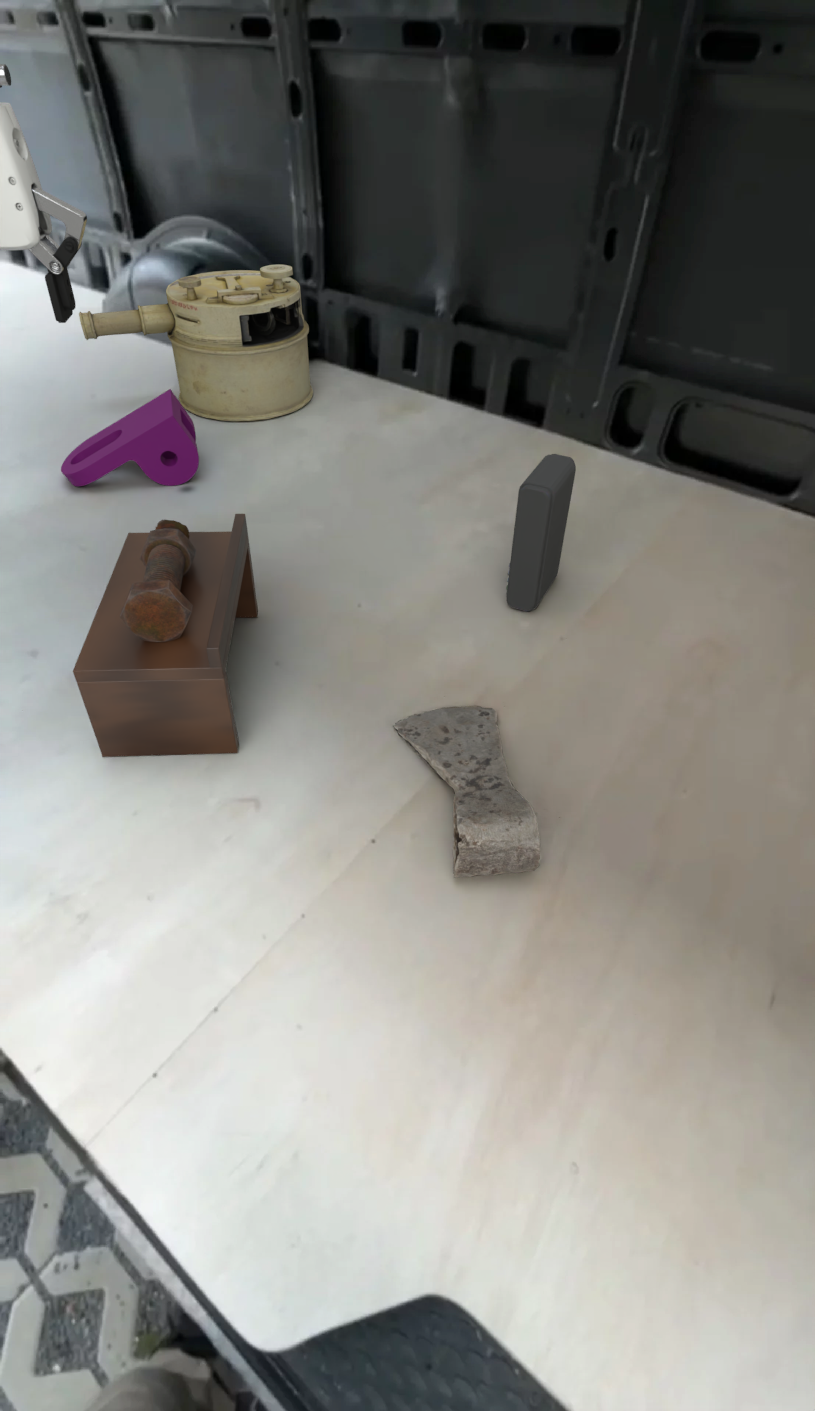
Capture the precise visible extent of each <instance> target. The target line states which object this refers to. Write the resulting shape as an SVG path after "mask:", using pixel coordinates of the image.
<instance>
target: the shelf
mask: <svg viewBox="0 0 815 1411" xmlns="http://www.w3.org/2000/svg"><path fill="white" fill-rule="evenodd" d="M232 522H233V523H232V527H231V531H189V534H188V535H190V536H189V540H190V542H191V543H192V544H193V546H194V547H195V549H196V553H195V557H194V560H193V562H192V564H191V567H190V569H189V571H188V573H187V575H186V576H185V577H183V578H182V584H181V589H180V592H181V593H182V594H183V595H184V596H185V597H186V599H187V600H188V601H189V602H190V603H191V604H192V605H193V606H192V612H191V615H190V618H189V620H188V622H187V625H186V627H185V629H184V631H183V633H182V635H181V636H180V638H178V639H175V640H171V641H166V642H150V641H144V640H143V639H141V638H139V637H138V636H136V635H135V634H134V633H133V632H132V631H131V630H130V629H129V628H128V627H127V626H126V625H125V623H124V622H123V621H122V619H121V618H120V614H121V610H122V608H123V605H124V603H125V600H126V598H127V596H128V593H129V591H130V588H131V586H132V584H133V582H143V580H144V576H145V570H146V566H145V565H144V564H143V562H142V561H141V560H140V556H141V552H142V550H143V547H144V544H145V542H146V539H147V537H148V535H149V533H150V532H128V534H127V535H126V537H125V541H124V543H123V545H122V548H121V550H120V553H119V556H118V558H117V560H116V563H115V564H114V568H113V570H112V573H111V575H110V576H109V579H108V582H107V585H106V587H105V590H104V593H103V595H102V597H101V600H100V603H99V605H98V607H97V610H96V613H95V615H94V617H93V620H92V622H91V625H90V627H89V630H88V632H87V635H86V637H85V640H84V642H83V645H82V647H81V649H80V652H79V654H78V656H77V660H76V661H75V664H74V667H73V670H72V673H73V676H74V679H75V682H76V684H77V687H78V690H79V693H80V696H81V699H82V701H83V704H84V707H85V711H86V713H87V716H88V719H89V722H90V725H91V727H92V730H93V733H94V736H95V740H96V742H97V744H98V747H99V748H98V749H99V751H100V754H101V757H102V758H105V757H106V758H113V757H114V758H115V757H147V756H149V757H150V756H184V755H185V756H186V755H187V756H189V755H190V756H191V755H219V754H223V755H224V754H225V755H227V754H238V753H239V747H240V742H239V736H238V731H237V724H236V719H235V713H234V707H233V702H232V697H231V696H232V695H231V690H230V685H229V679H228V674H227V666H228V660H229V654H230V648H231V645H232V644H231V643H232V637H233V632H234V627H235V621H236V619H240V618H241V619H242V618H244V619H245V618H246V619H247V618H249V619H250V618H258V617H259V616H258V614H259V606H258V600H257V592H256V585H255V577H254V570H253V562H252V554H251V548H250V539H249V533H248V532H249V531H248V524H247V516H246V513H235V514H234V517H233V521H232Z"/></svg>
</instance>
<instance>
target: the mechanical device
mask: <svg viewBox="0 0 815 1411" xmlns="http://www.w3.org/2000/svg"><path fill="white" fill-rule="evenodd" d="M293 270H294V269H293V266H291V265H287V264H281V263H280V264H279V263H278V264H269V265H265V266H261V267H260V268H259V270H253V269H252V270H248V269H246V270H245V269H237V270H236V269H234V270H233V269H232V270H217V271H208V272H207V271H206V272H200V273H196V274H192V275H188V276H182V277H180V278H178V279H176V280H174V281H173V282H171V283H170V284H168V285H167V287H166V289H165V295H166V302H167V303H160V304H159V303H157V304H147V305H140V304H137V309H130V310H117V311H106V312H95V313H92V312H91V311H90V310H88V311H87V312H81V311H79V313H78V317H79V322H80V326H81V329H82V333H83V336H84V339H85V340H86V341H89V340H91V339H93V340H98V338H99V337H105V336H116V335H130V334H139V333H143V335H144V336H147V335H155V334H156V335H157V334H165V333H166V334H167V338H168V340H169V341H170V342H171V348H172V353H173V359H174V365H175V369H176V371H175V372H176V377H177V382H178V388H179V394H178V401H179V402H180V403H181V405H182V406H183V408H184V409H185V411H188V412H189V413H191V414H193V415H196V416H199V417H202V418H206V419H210V420H217V421H227V422H255V421H262V420H270V419H274V418H279V417H282V416H285V415H289V414H291V413H295V412H297V411H298V410H301V409H303V407H305V406H306V405H307V404H308V403H309V402H310V401H311V399H312V398H313V395H314V390H313V387H312V385H311V377H310V376H311V375H310V374H311V373H310V362H309V361H310V360H309V347H308V346H309V345H308V343H309V342H308V334H309V332H310V326H309V324H308V323H307V321H306V320H305V315H304V314H303V306H302V294H301V285H300V283H299V282H298V281H297V280H296V279H294V278H292V277H291V276H294V271H293Z"/></svg>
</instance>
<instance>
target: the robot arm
mask: <svg viewBox="0 0 815 1411" xmlns="http://www.w3.org/2000/svg"><path fill="white" fill-rule="evenodd" d="M11 85H12V77H11V71H10V69H9V67H8V66H7V64H6V63H0V89H1V88H3V86H4V87H5V86H6V87H8V86H9V87H10V86H11ZM51 217H53V218H55V219H57V220H59V221H60V222H62V223H63V224H64V226H65V232H64V233H65V234H64V238H63V239H62V242H61V243H60V245H59V244H58V243H57V242H56V241H55V240H54V239H53V238H52V237H51V236H50V235H51V234H52V233H53V232H52V231H53V224H52V218H51ZM87 221H88V216H87V214H86V212H84V211H83V210H82V209H79V208H78V207H75V206H73V205H72V204H69V203H68V202H66V201H64V200H62V199H60V198H58V197H57V196H54V195H52V194H51V193H49V192H47V191H45V190H43V187H42V184H41V181H40V178H39V175H38V171H37V168H36V165H35V163H34V160H33V157H32V154H31V151H30V148H29V146H28V143H27V140H26V138H25V136H24V132H23V130H22V127H21V125H20V122H19V120H18V118H17V116H16V114H15V111H14V109H13V107H12V104H11V103H10V102H5V101H0V251H26V250H27V251H29V252H30V253H31V254H32V255H33V256H34V257H35V258H36V259H37V260H38V261H39V262H40V263H41V264H42V265H43V266H44V267H46V269H47V273H46V274H45V275H44V281H45V285H46V288H47V292H48V296H49V300H50V304H51V307H52V312H53V314H54V318H55V321H56V322H58V323H59V324H66V323H67V321H68V320H69V319H70V318H71V317H72V315H73V314H74V311H75V309H76V299H75V298H76V297H75V295H74V290H73V287H72V286H73V285H72V283H71V279H70V273H69V271H68V267H69V266H70V264H71V262H72V261H73V259H74V258H75V257H76V255H77V253H79V250H80V249H81V247H82V246H83V245H82V243H83V238H84V235H85V231H86V226H87Z"/></svg>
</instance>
